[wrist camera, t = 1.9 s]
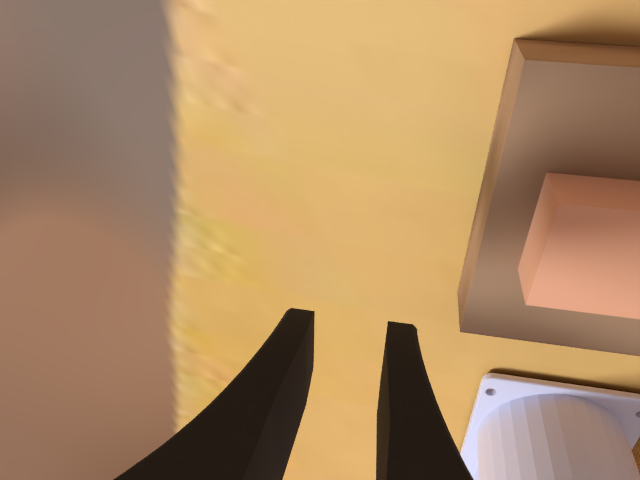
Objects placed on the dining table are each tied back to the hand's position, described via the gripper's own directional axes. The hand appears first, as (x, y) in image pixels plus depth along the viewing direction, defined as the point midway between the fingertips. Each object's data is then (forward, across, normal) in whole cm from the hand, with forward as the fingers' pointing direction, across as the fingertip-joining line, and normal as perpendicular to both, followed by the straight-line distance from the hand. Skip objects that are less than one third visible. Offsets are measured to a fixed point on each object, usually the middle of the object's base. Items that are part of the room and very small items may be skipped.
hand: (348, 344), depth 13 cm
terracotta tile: (+7, -8, 0) cm, 10 cm away
